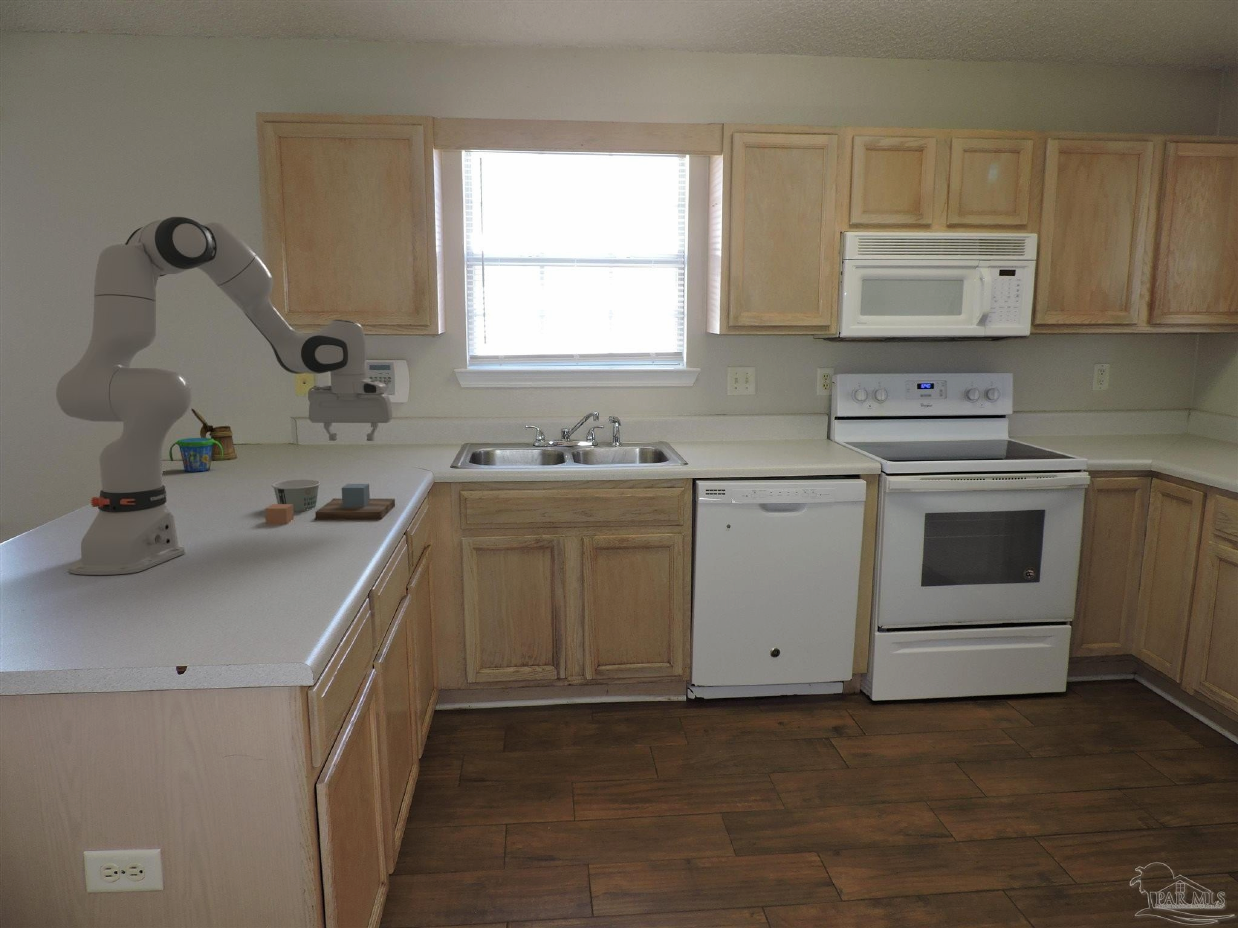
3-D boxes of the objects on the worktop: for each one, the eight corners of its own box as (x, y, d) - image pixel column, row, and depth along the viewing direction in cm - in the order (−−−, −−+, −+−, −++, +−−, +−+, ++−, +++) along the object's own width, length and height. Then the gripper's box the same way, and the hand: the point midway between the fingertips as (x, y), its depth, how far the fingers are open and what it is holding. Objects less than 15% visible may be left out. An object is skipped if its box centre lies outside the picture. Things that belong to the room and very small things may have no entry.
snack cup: (226, 467, 290) (224, 436, 288) (220, 472, 279) (218, 441, 278) (175, 468, 286) (173, 437, 284) (167, 474, 276) (164, 442, 274)
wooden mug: (196, 457, 308) (192, 407, 305) (237, 456, 312) (234, 406, 309) (193, 461, 299) (189, 409, 297) (236, 459, 304) (233, 408, 301)
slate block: (364, 507, 221) (363, 487, 220) (342, 507, 221) (341, 487, 220) (369, 502, 226) (369, 483, 225) (348, 502, 226) (347, 483, 225)
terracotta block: (287, 524, 211) (286, 508, 210) (266, 524, 211) (265, 508, 210) (293, 519, 216) (293, 504, 215) (273, 519, 216) (272, 504, 215)
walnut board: (380, 519, 216) (380, 511, 216) (315, 519, 216) (315, 511, 215) (395, 505, 232) (394, 498, 232) (334, 505, 231) (334, 498, 231)
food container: (305, 514, 222) (304, 488, 221) (263, 511, 224) (261, 486, 223) (330, 504, 234) (329, 480, 233) (289, 502, 236) (288, 478, 235)
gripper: (303, 386, 215) (306, 442, 217) (387, 386, 215) (388, 442, 217) (311, 384, 221) (314, 438, 223) (392, 385, 221) (394, 439, 224)
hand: (351, 440), depth 220 cm, fingers open, 8 cm apart
